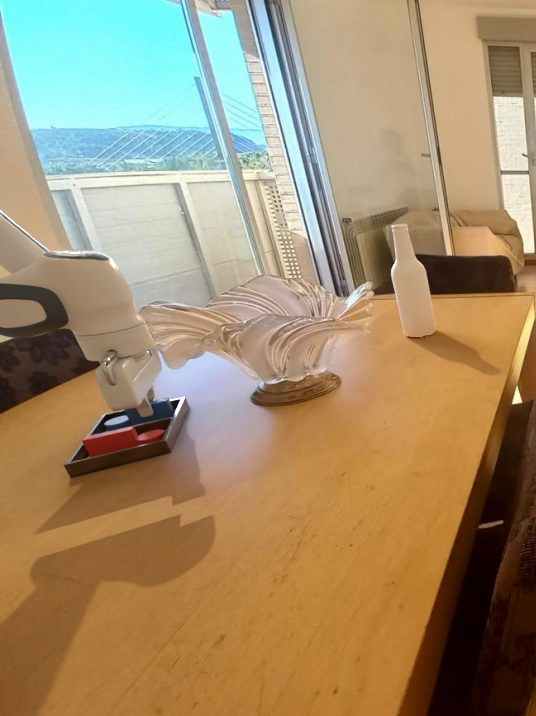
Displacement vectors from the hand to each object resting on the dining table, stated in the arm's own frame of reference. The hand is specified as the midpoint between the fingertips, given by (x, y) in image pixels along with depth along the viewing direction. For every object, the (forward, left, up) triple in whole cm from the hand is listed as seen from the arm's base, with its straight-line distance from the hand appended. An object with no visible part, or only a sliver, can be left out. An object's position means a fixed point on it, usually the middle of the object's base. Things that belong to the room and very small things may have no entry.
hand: (150, 411), depth 89 cm
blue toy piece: (-2, 0, -2) cm, 2 cm away
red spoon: (-2, -10, -2) cm, 10 cm away
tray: (-2, -5, -3) cm, 6 cm away
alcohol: (+53, +24, -3) cm, 58 cm away
